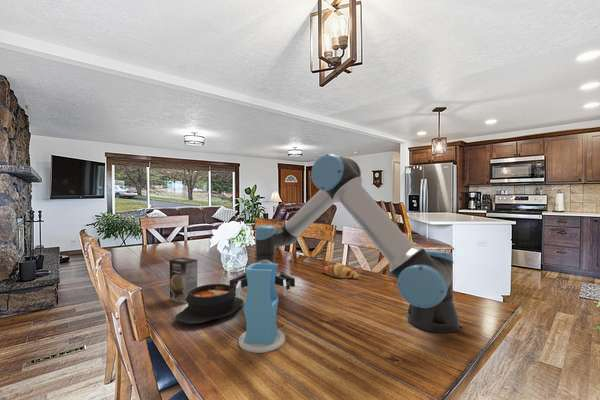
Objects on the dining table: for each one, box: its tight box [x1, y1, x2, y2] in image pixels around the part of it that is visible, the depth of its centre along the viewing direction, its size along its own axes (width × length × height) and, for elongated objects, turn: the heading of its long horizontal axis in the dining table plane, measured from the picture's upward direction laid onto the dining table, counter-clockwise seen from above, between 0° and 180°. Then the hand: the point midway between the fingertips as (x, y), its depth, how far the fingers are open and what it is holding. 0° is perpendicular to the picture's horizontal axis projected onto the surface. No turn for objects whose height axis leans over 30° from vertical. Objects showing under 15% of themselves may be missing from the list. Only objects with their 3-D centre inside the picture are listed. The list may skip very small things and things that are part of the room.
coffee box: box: [169, 257, 198, 305], centre depth 113 cm, size 9×6×16 cm
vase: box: [243, 262, 280, 345], centre depth 80 cm, size 8×8×20 cm
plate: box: [238, 328, 286, 354], centre depth 80 cm, size 13×13×1 cm
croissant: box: [321, 262, 360, 279], centre depth 146 cm, size 21×10×8 cm, turn 54°
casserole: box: [174, 283, 245, 325], centre depth 99 cm, size 25×19×8 cm
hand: (261, 291), depth 81 cm, fingers open, 13 cm apart
